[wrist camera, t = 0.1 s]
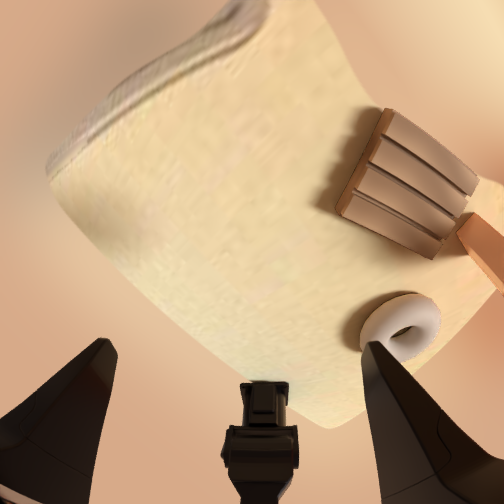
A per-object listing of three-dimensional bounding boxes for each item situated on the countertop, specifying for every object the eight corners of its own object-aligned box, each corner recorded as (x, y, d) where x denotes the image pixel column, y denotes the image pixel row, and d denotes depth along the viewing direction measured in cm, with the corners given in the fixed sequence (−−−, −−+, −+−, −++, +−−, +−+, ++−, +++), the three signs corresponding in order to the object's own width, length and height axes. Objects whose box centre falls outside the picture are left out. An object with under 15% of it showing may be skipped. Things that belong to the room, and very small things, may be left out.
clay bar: (468, 255, 23) (524, 325, 13) (455, 232, 21) (520, 306, 12) (486, 236, 21) (546, 301, 12) (474, 212, 20) (544, 278, 11)
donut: (338, 333, 29) (391, 357, 31) (343, 357, 26) (397, 378, 28) (402, 271, 25) (447, 307, 27) (415, 293, 22) (459, 327, 24)
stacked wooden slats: (420, 250, 23) (430, 262, 21) (334, 207, 21) (341, 218, 19) (467, 170, 18) (480, 177, 16) (385, 107, 17) (396, 109, 15)
